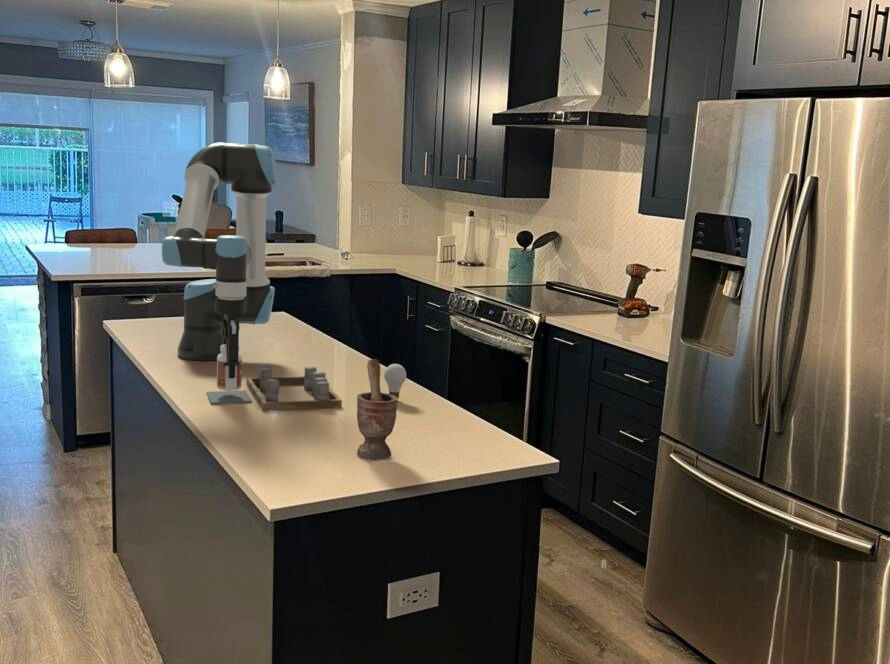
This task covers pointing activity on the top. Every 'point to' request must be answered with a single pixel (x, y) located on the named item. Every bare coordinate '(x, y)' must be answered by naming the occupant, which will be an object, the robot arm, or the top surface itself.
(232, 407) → the top surface
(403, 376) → the light bulb
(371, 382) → the mortar and pestle
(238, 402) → the mat
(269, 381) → the tray
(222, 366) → the pill bottle
